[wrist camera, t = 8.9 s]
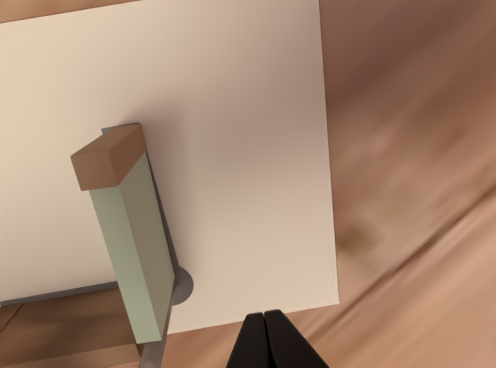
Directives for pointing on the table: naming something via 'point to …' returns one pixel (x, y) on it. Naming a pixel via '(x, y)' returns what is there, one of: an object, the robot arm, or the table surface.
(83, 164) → the swing panel
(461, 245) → the table surface
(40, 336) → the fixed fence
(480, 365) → the table surface
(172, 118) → the card
